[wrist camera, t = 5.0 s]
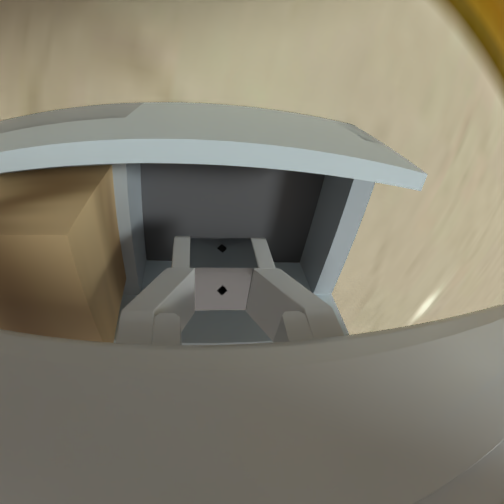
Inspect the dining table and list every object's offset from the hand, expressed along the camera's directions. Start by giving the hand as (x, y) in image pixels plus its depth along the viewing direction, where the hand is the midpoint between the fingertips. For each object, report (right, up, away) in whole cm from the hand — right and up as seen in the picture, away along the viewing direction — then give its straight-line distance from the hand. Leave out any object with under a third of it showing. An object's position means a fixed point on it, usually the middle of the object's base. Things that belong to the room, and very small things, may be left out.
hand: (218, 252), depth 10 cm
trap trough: (-7, +3, +2) cm, 8 cm away
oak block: (-7, +1, 0) cm, 7 cm away
